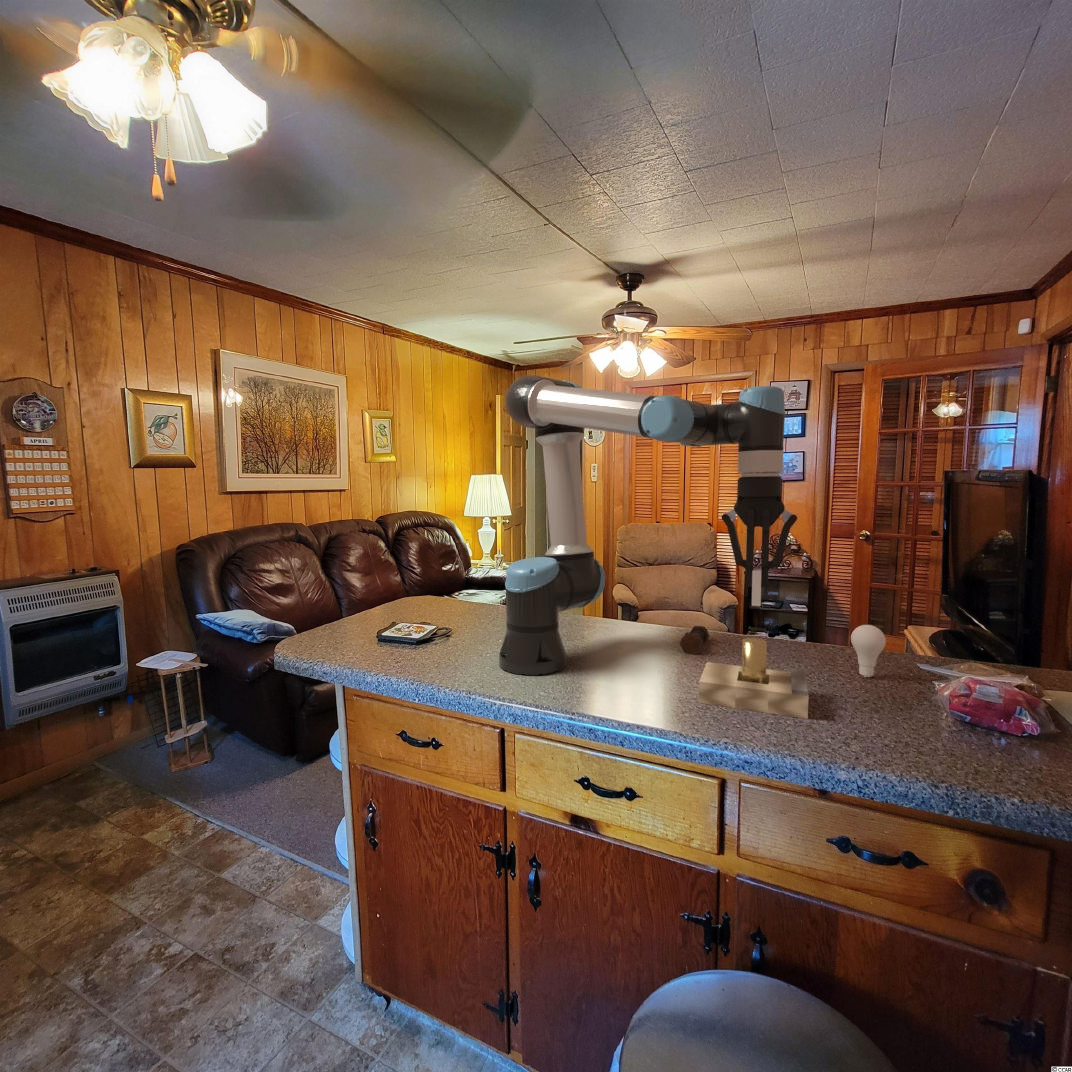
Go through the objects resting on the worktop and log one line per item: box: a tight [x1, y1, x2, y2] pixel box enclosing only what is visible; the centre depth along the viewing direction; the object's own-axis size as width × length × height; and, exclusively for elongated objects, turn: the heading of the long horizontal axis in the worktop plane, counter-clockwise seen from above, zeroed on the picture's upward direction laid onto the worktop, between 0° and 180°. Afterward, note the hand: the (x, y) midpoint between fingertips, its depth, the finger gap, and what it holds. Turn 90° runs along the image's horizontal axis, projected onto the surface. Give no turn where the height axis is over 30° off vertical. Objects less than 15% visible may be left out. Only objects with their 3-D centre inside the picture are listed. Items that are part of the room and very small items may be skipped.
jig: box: [698, 661, 809, 720], centre depth 103 cm, size 18×12×5 cm, turn 66°
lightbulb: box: [850, 624, 887, 678], centre depth 113 cm, size 6×6×11 cm
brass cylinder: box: [741, 637, 768, 684], centre depth 102 cm, size 4×4×11 cm
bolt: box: [679, 625, 710, 656], centre depth 136 cm, size 6×5×15 cm
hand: (756, 604), depth 101 cm, fingers closed
